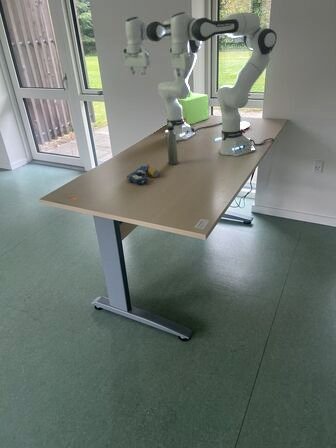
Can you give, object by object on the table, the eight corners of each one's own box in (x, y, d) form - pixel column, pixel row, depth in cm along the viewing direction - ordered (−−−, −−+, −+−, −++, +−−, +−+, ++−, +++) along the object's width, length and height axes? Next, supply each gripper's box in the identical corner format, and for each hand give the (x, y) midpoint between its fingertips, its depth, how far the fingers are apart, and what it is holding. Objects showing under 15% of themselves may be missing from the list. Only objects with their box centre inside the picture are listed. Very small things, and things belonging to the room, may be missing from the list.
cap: (175, 129, 193) (175, 126, 192) (169, 130, 192) (169, 127, 191) (172, 128, 196) (172, 125, 195) (166, 129, 195) (166, 126, 194)
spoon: (243, 140, 236) (243, 137, 234) (228, 139, 239) (228, 137, 238) (251, 123, 262) (251, 121, 261) (237, 123, 266) (237, 120, 264)
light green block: (191, 115, 302) (190, 88, 290) (208, 118, 288) (208, 90, 276) (170, 121, 289) (168, 93, 277) (187, 125, 275) (185, 95, 263)
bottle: (179, 163, 204) (177, 127, 192) (171, 165, 202) (168, 129, 190) (175, 160, 208) (172, 125, 197) (167, 162, 206) (164, 127, 195)
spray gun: (164, 171, 194) (142, 169, 200) (163, 164, 191) (141, 162, 198) (147, 187, 178) (123, 184, 185) (146, 179, 176) (122, 177, 182)
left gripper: (151, 48, 193) (154, 74, 200) (128, 49, 206) (131, 73, 213) (143, 49, 189) (146, 76, 197) (120, 50, 202) (123, 74, 209)
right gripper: (193, 49, 167) (194, 79, 174) (179, 47, 184) (180, 75, 191) (181, 50, 166) (183, 80, 173) (168, 49, 182) (170, 76, 190)
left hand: (138, 74), depth 205 cm, fingers open, 8 cm apart
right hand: (181, 77), depth 182 cm, fingers open, 8 cm apart
